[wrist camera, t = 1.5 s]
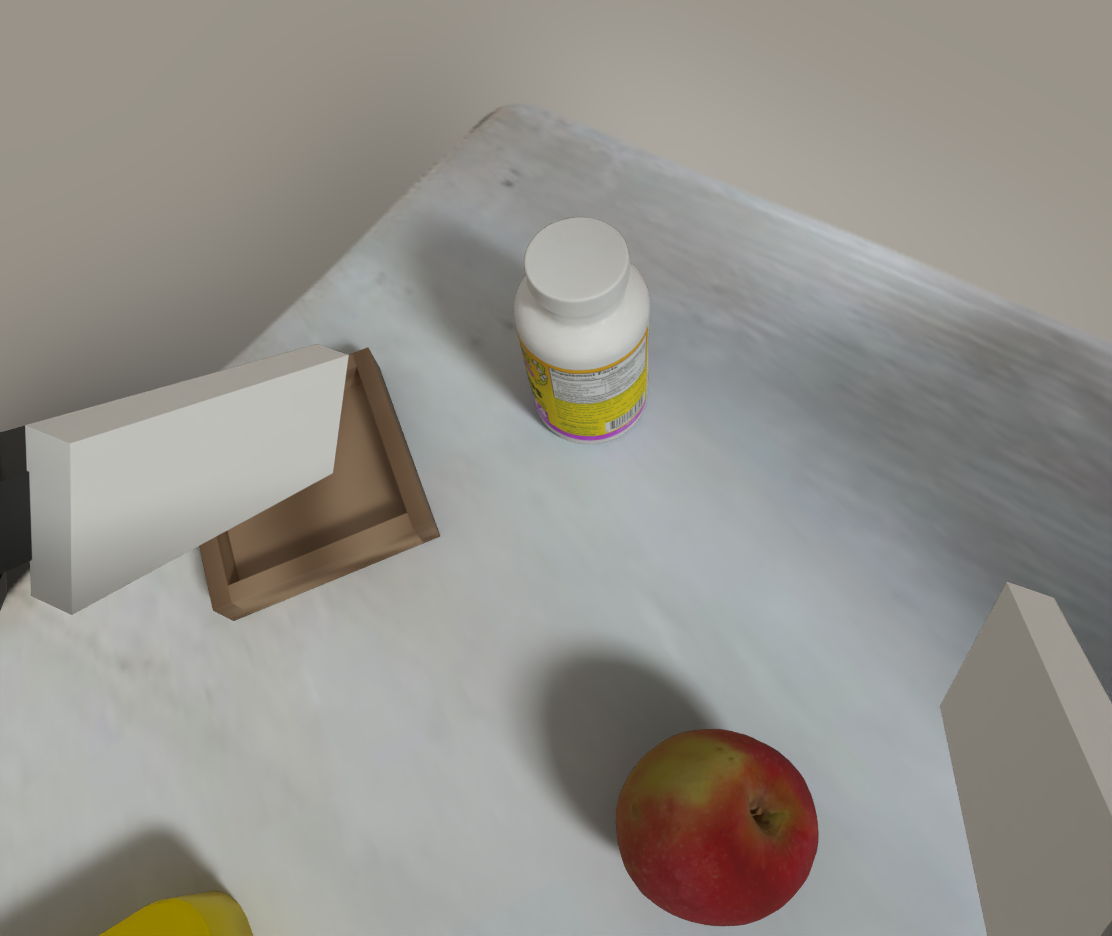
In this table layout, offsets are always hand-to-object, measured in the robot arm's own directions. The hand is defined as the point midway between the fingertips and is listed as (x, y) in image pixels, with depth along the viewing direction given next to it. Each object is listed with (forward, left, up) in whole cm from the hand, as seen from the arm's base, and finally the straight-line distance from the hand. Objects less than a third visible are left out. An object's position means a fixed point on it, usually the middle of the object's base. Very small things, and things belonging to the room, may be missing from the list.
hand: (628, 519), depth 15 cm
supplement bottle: (-5, -17, -26) cm, 32 cm away
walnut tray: (+12, -18, -26) cm, 34 cm away
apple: (-1, +6, -26) cm, 27 cm away
